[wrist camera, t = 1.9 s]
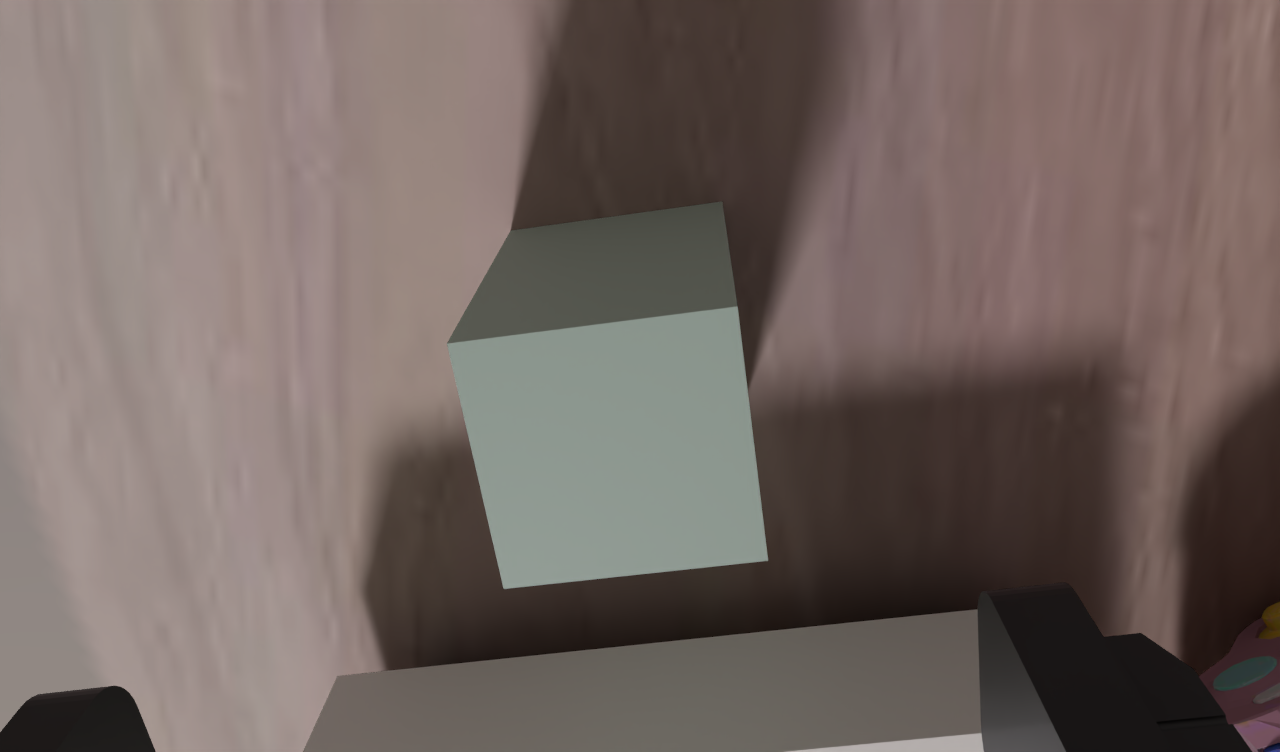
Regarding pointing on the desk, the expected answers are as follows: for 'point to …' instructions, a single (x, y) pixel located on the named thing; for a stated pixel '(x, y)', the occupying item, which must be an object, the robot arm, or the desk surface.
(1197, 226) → the desk surface
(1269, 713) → the video game controller
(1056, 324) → the desk surface
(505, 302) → the sage block
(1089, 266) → the desk surface
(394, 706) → the white planter box
